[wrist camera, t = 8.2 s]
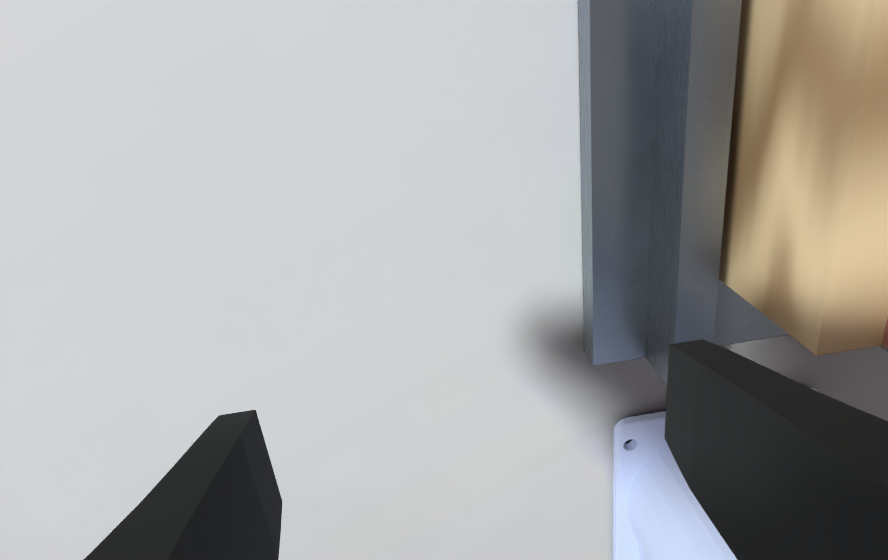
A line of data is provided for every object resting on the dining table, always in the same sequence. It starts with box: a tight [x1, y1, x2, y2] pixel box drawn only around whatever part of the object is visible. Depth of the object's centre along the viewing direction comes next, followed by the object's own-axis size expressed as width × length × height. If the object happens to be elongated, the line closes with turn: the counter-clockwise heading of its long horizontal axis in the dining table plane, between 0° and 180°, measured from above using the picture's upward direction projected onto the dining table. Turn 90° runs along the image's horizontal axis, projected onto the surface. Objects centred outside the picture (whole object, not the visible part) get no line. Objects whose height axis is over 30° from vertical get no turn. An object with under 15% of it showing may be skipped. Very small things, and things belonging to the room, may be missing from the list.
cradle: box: [578, 0, 888, 384], centre depth 17 cm, size 18×12×3 cm, turn 6°
